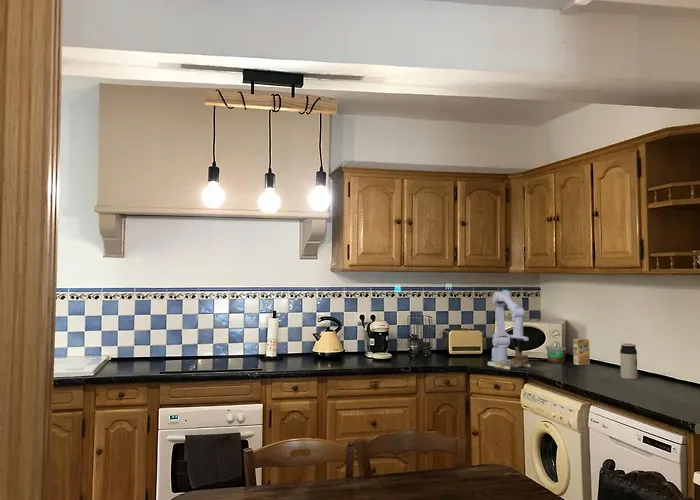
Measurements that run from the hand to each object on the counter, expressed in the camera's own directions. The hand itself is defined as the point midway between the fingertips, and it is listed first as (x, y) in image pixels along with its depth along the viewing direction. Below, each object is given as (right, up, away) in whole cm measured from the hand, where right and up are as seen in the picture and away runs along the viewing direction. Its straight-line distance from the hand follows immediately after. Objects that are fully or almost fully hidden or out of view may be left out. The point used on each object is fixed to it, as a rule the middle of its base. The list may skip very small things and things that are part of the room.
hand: (518, 351), depth 331 cm
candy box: (+42, -10, +12) cm, 45 cm away
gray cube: (+1, -10, +6) cm, 12 cm away
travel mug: (+49, -9, -32) cm, 59 cm away
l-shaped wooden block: (+1, -6, 0) cm, 6 cm away
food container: (+29, -10, +20) cm, 37 cm away
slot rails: (-2, -10, +4) cm, 11 cm away
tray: (-6, -10, +12) cm, 17 cm away
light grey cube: (-6, -10, +4) cm, 12 cm away
